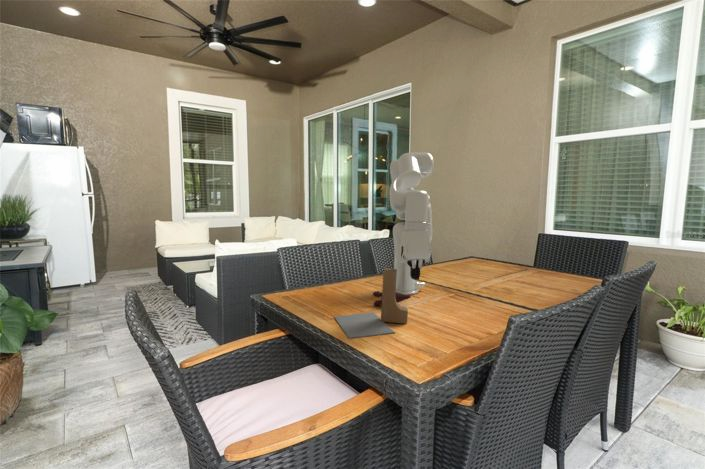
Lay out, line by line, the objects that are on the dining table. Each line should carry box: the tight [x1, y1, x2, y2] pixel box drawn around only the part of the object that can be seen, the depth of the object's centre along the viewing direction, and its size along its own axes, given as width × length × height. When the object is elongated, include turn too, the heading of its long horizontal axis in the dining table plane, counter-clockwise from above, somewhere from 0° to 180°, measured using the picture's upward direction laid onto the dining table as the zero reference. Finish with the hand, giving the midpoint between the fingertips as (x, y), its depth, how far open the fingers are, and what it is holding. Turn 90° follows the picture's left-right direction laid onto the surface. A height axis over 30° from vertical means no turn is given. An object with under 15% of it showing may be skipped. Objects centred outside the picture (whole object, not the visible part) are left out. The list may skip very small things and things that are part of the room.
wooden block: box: [380, 267, 409, 324], centre depth 123 cm, size 9×4×18 cm, turn 83°
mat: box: [333, 311, 396, 339], centre depth 120 cm, size 15×20×1 cm
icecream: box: [372, 291, 412, 307], centre depth 141 cm, size 7×7×15 cm
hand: (415, 278), depth 124 cm, fingers closed
